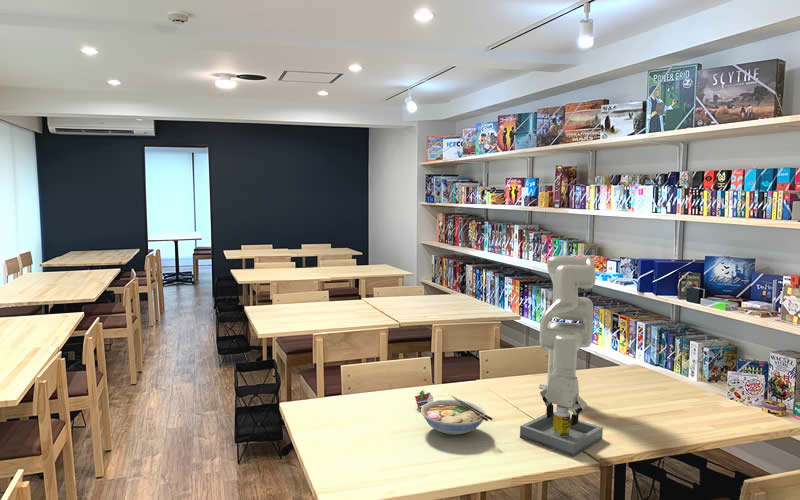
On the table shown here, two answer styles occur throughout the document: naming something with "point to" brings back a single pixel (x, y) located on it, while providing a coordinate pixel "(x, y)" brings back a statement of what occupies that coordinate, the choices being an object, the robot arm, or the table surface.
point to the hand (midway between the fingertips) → (561, 420)
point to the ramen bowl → (453, 416)
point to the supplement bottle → (561, 422)
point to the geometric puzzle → (423, 398)
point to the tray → (571, 445)
